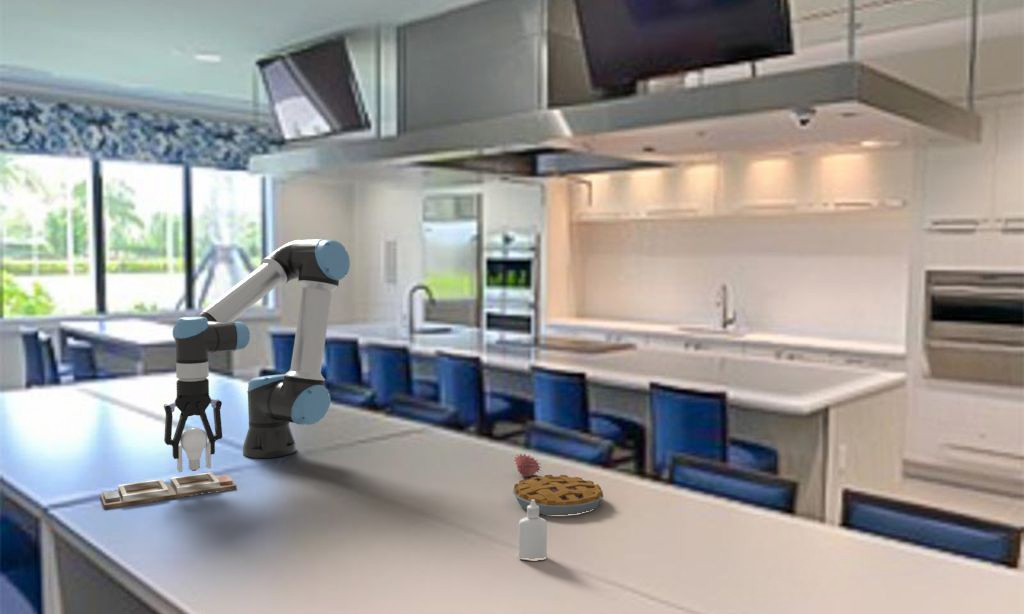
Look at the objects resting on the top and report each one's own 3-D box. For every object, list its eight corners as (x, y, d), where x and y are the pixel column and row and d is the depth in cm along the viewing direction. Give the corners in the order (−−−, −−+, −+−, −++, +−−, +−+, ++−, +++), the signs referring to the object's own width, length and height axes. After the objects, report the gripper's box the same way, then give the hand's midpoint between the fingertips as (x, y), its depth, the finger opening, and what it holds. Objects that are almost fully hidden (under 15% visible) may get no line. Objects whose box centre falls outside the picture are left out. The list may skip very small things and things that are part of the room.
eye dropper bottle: (525, 552, 161) (525, 494, 160) (549, 557, 158) (550, 499, 157) (515, 559, 157) (515, 500, 156) (540, 565, 154) (540, 505, 154)
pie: (541, 525, 177) (541, 503, 176) (497, 497, 196) (497, 478, 196) (620, 511, 187) (621, 490, 187) (571, 486, 206) (572, 467, 206)
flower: (523, 460, 208) (531, 445, 212) (503, 467, 213) (511, 451, 217) (542, 480, 210) (549, 464, 214) (522, 486, 215) (529, 470, 219)
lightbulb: (198, 474, 196) (197, 431, 195) (175, 473, 197) (174, 429, 196) (212, 468, 202) (212, 425, 201) (190, 466, 203) (190, 424, 202)
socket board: (227, 479, 209) (227, 469, 209) (236, 489, 201) (236, 479, 200) (100, 497, 193) (100, 487, 193) (104, 509, 185) (104, 498, 184)
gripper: (228, 373, 206) (229, 460, 208) (149, 379, 196) (151, 470, 198) (235, 377, 200) (236, 467, 201) (153, 383, 190) (155, 478, 191)
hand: (194, 468), depth 199 cm, fingers closed on lightbulb, 6 cm apart
